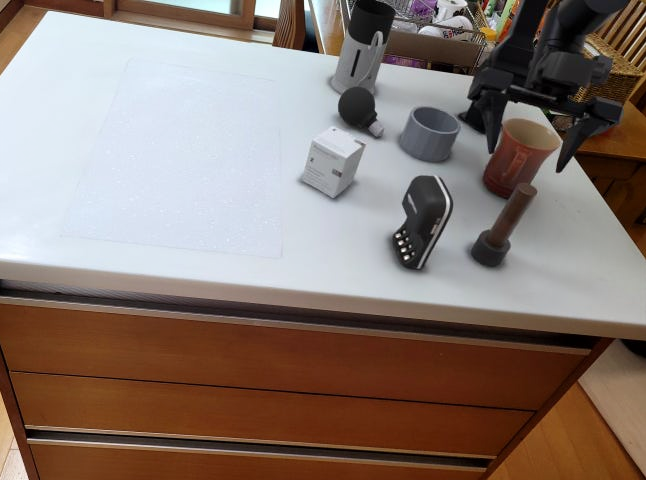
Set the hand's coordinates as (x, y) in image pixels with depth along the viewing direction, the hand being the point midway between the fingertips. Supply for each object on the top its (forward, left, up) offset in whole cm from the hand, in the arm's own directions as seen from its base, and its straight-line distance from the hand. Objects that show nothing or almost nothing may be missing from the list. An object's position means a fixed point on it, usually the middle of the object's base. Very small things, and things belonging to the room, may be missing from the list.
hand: (524, 162), depth 73 cm
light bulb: (0, -30, -12) cm, 33 cm away
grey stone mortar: (-7, -20, -12) cm, 25 cm away
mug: (-10, -5, -12) cm, 17 cm away
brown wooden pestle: (+5, +4, -12) cm, 13 cm away
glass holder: (-7, -39, -12) cm, 42 cm away
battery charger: (+16, -2, -12) cm, 20 cm away
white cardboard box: (+16, -19, -12) cm, 28 cm away
